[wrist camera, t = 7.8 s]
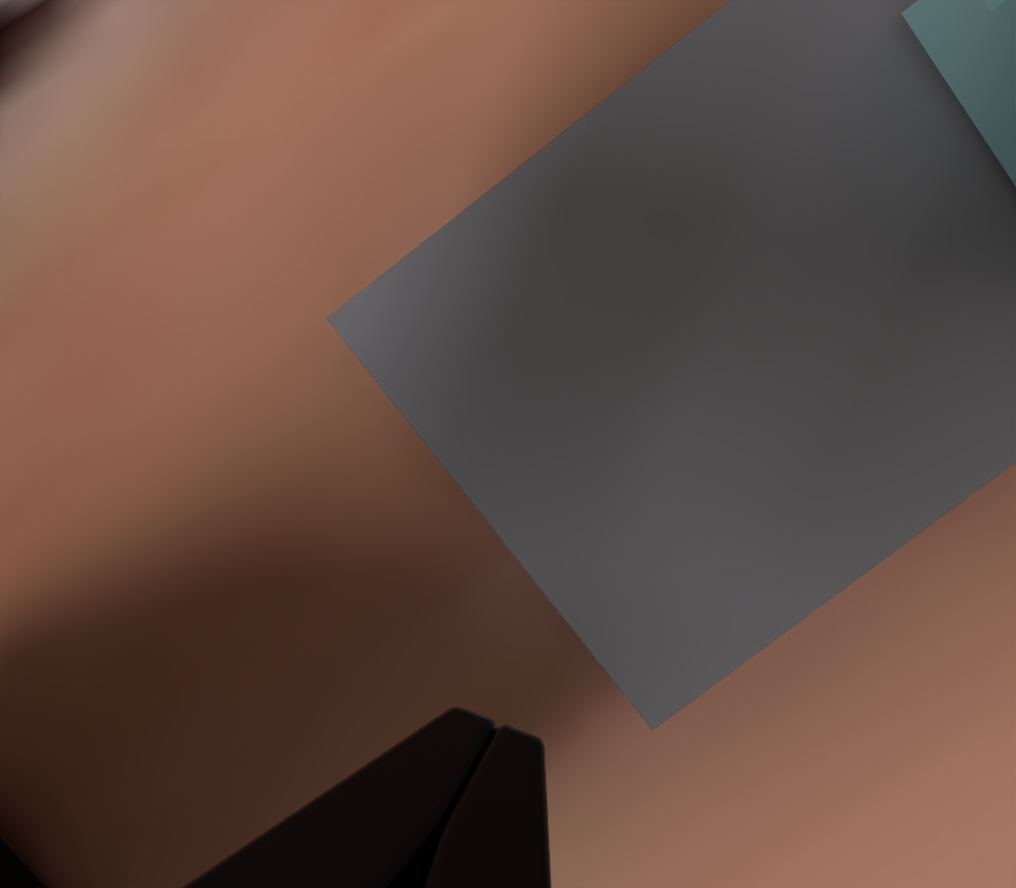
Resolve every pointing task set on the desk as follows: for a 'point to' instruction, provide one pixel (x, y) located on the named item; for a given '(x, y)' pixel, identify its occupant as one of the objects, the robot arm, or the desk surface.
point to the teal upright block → (975, 63)
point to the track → (719, 337)
